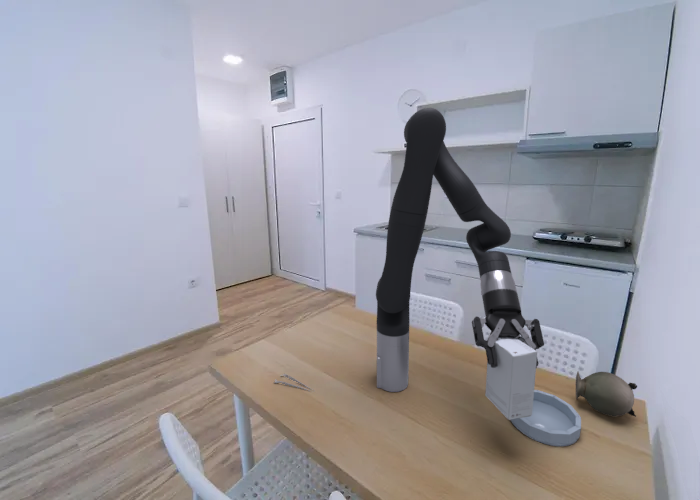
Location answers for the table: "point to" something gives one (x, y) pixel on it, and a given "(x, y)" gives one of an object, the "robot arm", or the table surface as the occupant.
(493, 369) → the skincare box
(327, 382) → the table surface
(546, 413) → the bowl
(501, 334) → the robot arm
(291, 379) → the tweezers
